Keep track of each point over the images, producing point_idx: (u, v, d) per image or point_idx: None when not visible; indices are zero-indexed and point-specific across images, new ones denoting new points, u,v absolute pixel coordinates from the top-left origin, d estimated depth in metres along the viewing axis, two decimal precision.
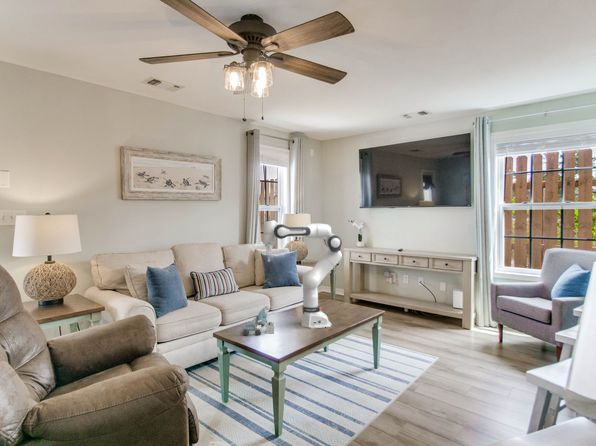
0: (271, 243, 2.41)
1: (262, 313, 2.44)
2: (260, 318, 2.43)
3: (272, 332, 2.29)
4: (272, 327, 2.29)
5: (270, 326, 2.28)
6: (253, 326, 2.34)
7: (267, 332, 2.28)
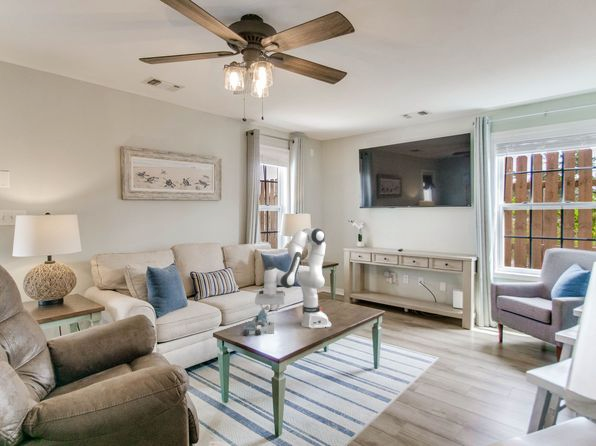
0: None
1: (262, 313, 2.44)
2: (260, 318, 2.43)
3: (272, 332, 2.29)
4: (272, 327, 2.29)
5: (270, 326, 2.28)
6: (253, 326, 2.34)
7: (267, 332, 2.28)
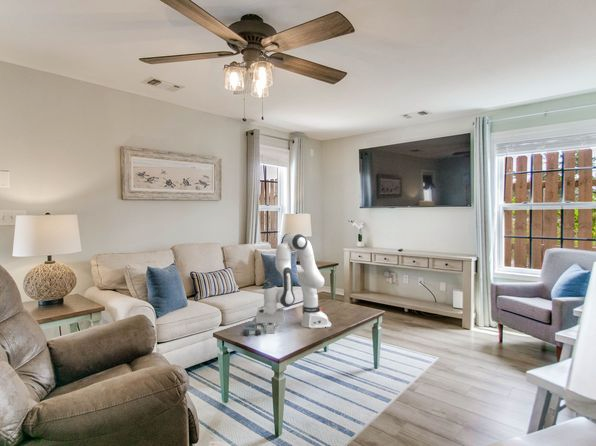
0: None
1: None
2: None
3: (272, 332, 2.29)
4: (272, 327, 2.29)
5: (270, 326, 2.28)
6: (253, 326, 2.34)
7: (267, 332, 2.28)
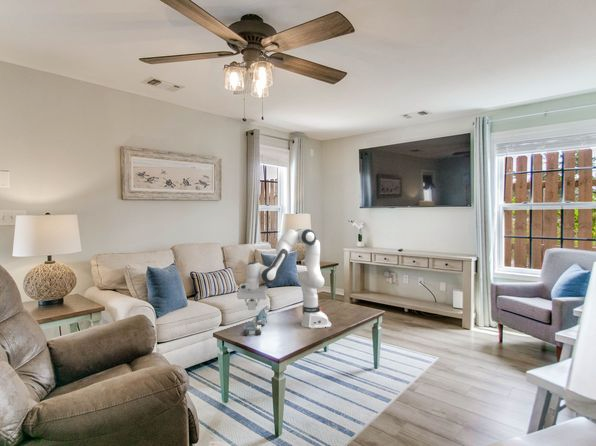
0: None
1: (262, 313, 2.44)
2: (260, 318, 2.43)
3: (254, 308, 2.27)
4: (254, 303, 2.27)
5: (252, 302, 2.27)
6: (253, 326, 2.34)
7: (249, 308, 2.27)
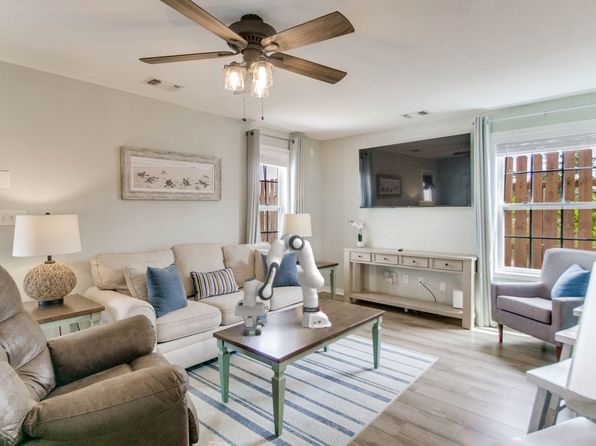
0: None
1: None
2: (260, 318, 2.43)
3: (251, 325, 2.27)
4: (251, 320, 2.27)
5: (249, 319, 2.27)
6: (253, 326, 2.34)
7: (246, 325, 2.27)
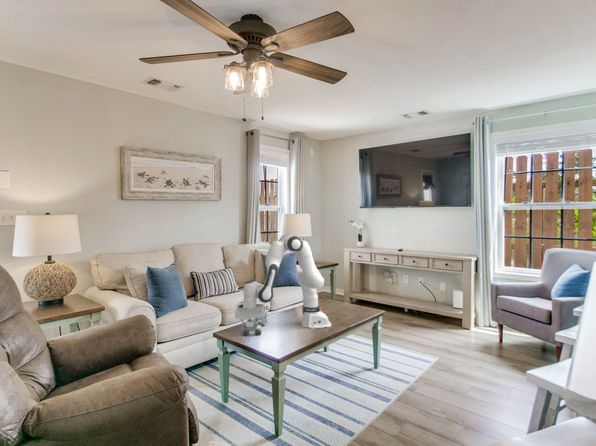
0: None
1: None
2: (260, 318, 2.43)
3: None
4: (252, 324, 2.28)
5: (250, 323, 2.28)
6: None
7: None
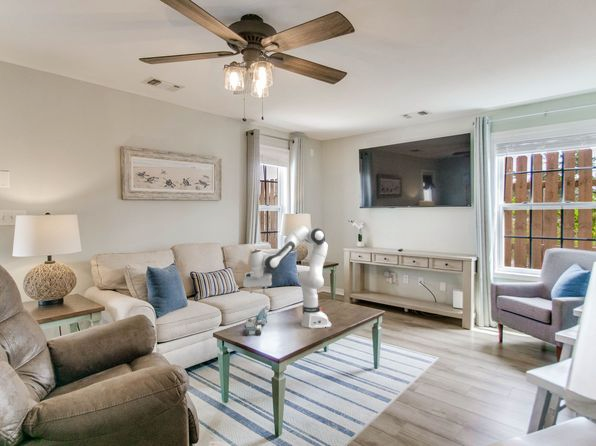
0: None
1: (262, 313, 2.44)
2: (260, 318, 2.43)
3: None
4: (252, 324, 2.28)
5: (250, 323, 2.28)
6: None
7: None
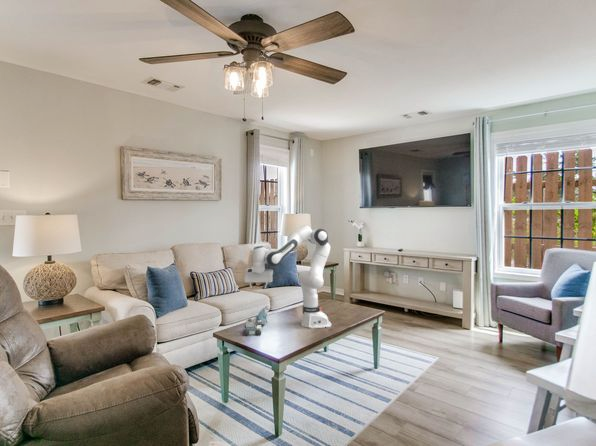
0: None
1: (262, 313, 2.44)
2: (260, 318, 2.43)
3: None
4: (252, 324, 2.28)
5: (250, 323, 2.28)
6: None
7: None
